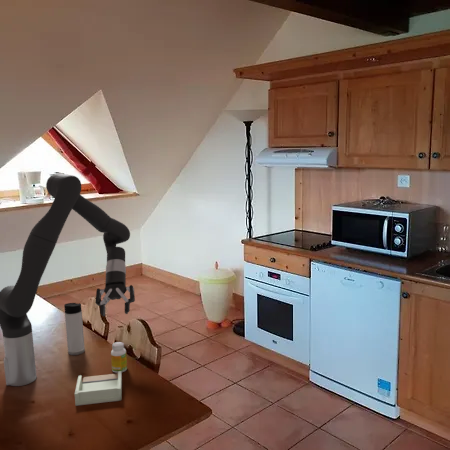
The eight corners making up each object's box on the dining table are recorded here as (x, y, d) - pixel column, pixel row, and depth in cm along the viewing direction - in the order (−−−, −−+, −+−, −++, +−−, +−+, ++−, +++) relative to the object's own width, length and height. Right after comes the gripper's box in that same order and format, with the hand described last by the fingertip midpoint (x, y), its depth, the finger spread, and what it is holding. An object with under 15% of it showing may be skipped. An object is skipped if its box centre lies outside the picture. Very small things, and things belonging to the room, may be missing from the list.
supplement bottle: (123, 373, 170) (121, 347, 168) (109, 372, 171) (107, 346, 170) (129, 366, 175) (128, 341, 174) (115, 365, 176) (114, 340, 175)
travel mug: (64, 354, 187) (59, 305, 183) (75, 347, 193) (71, 299, 189) (77, 356, 184) (73, 306, 181) (88, 349, 190) (84, 301, 187)
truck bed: (75, 405, 150) (74, 393, 149) (80, 379, 167) (80, 368, 166) (121, 400, 153) (120, 388, 152) (122, 375, 169) (121, 364, 168)
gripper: (94, 271, 182) (92, 313, 174) (131, 267, 181) (131, 309, 174) (100, 278, 188) (98, 319, 181) (136, 275, 188) (136, 315, 181)
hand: (114, 314), depth 178 cm, fingers open, 8 cm apart
